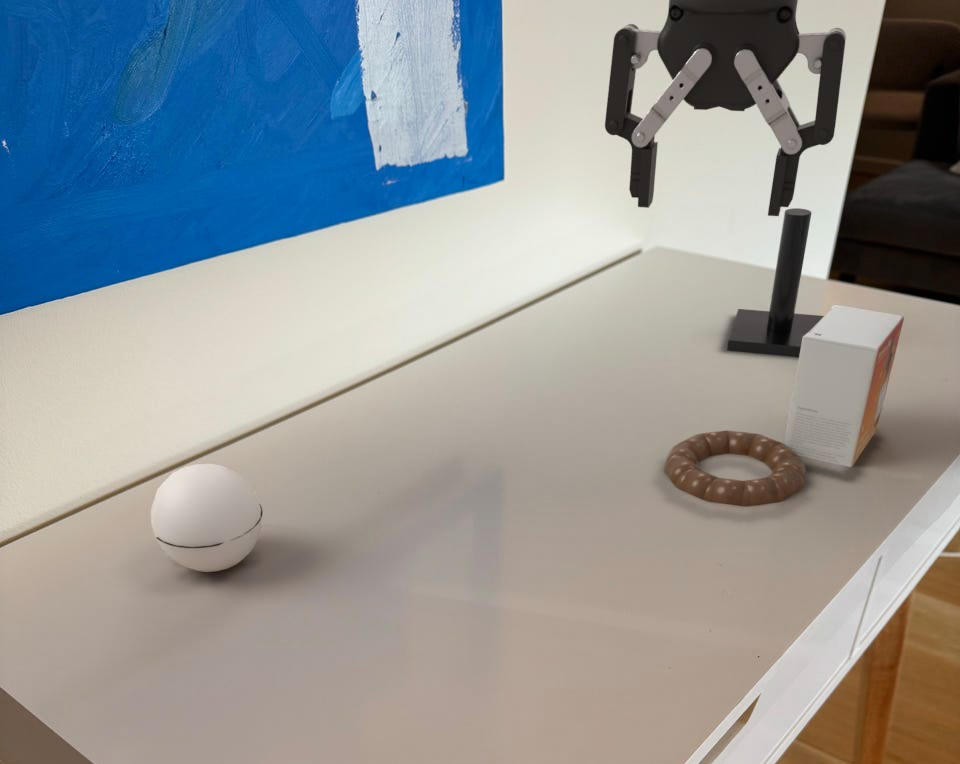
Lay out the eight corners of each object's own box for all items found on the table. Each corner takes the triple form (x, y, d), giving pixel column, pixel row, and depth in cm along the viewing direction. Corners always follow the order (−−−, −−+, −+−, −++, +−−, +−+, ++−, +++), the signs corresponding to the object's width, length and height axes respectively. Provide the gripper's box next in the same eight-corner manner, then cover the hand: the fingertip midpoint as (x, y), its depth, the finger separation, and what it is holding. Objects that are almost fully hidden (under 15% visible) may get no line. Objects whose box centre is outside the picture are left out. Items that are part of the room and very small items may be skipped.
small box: (848, 481, 78) (878, 349, 71) (778, 464, 80) (801, 335, 74) (876, 440, 83) (907, 314, 77) (809, 425, 86) (833, 302, 79)
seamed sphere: (140, 579, 69) (114, 484, 65) (207, 527, 75) (187, 436, 70) (260, 613, 66) (241, 516, 61) (321, 556, 71) (308, 463, 67)
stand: (825, 327, 103) (850, 201, 96) (821, 361, 96) (847, 228, 89) (736, 319, 105) (753, 196, 98) (726, 352, 99) (743, 222, 91)
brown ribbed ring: (805, 462, 80) (811, 434, 79) (797, 527, 73) (803, 498, 71) (675, 446, 83) (678, 419, 82) (653, 508, 75) (656, 479, 74)
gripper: (606, -86, 56) (592, 217, 66) (874, -89, 53) (816, 232, 63) (631, -92, 62) (614, 189, 72) (874, -94, 59) (821, 201, 68)
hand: (709, 209), depth 67 cm, fingers open, 8 cm apart
